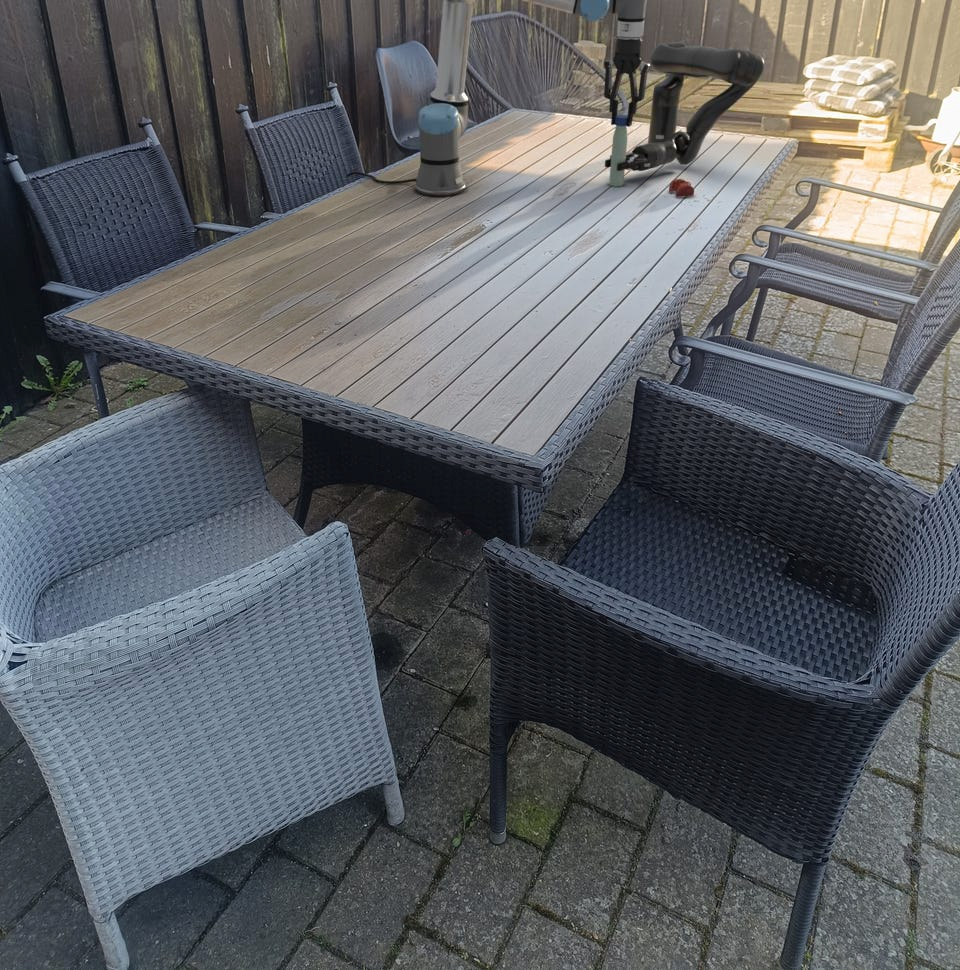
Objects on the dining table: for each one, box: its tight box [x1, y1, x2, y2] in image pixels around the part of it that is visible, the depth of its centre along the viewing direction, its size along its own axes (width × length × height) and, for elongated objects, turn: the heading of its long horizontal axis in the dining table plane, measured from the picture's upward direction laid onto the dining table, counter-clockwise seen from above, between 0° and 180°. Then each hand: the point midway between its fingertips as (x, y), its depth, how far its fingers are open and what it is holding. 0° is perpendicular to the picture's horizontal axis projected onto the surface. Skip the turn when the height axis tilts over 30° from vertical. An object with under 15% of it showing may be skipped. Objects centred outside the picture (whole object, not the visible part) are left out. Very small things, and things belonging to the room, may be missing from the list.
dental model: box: [668, 178, 695, 198], centre depth 254 cm, size 6×4×8 cm
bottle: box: [608, 125, 629, 187], centre depth 258 cm, size 4×4×19 cm
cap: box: [614, 114, 628, 126], centre depth 252 cm, size 4×4×2 cm
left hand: (621, 124), depth 253 cm, fingers closed on cap, 4 cm apart
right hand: (611, 165), depth 258 cm, fingers closed on bottle, 4 cm apart
